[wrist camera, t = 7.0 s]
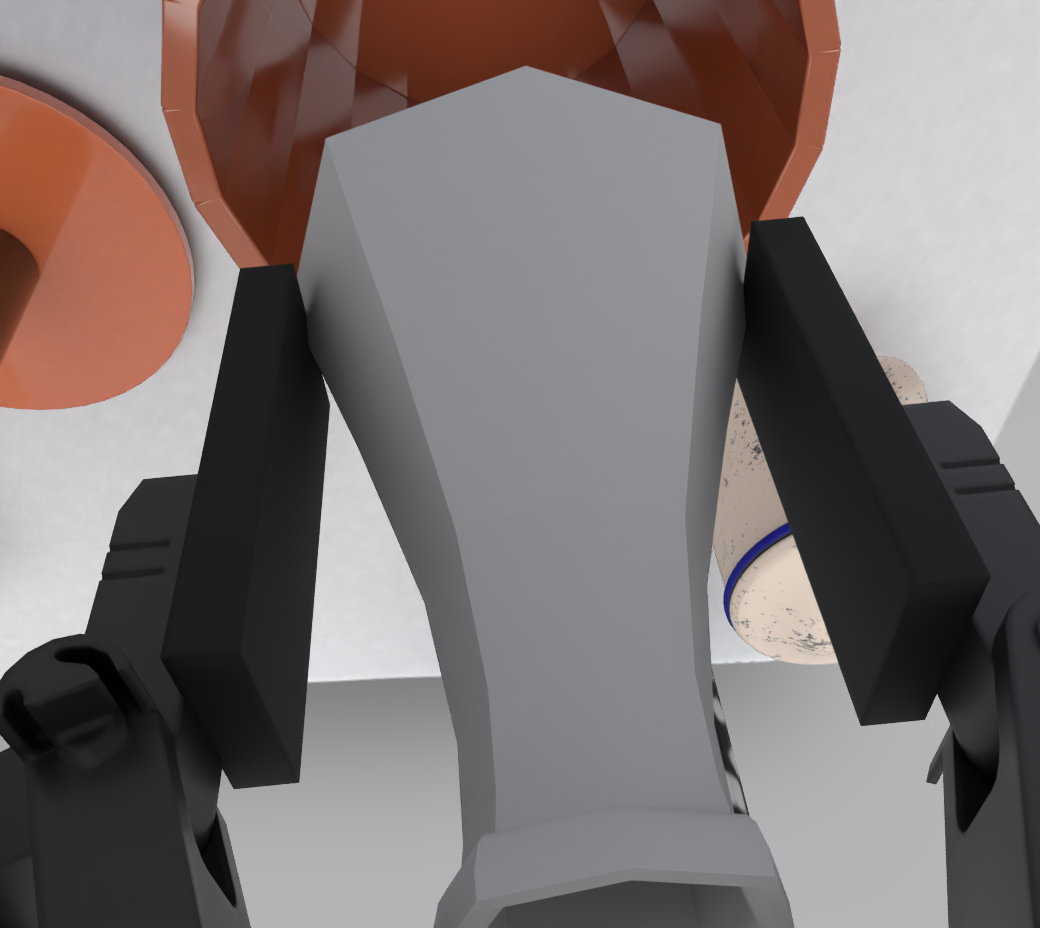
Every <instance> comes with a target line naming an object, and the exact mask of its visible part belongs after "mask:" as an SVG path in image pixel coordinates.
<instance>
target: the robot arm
mask: <svg viewBox="0 0 1040 928" xmlns="http://www.w3.org/2000/svg"><path fill="white" fill-rule="evenodd" d="M743 288H744V302H745V317H746V329H745V334H744V340H743V345H742V351H741V356H740V361H739V367H738V372H737V381H738V384H739V386H740V389H741V392H742V395H743V398H744V400H745V403H746V406H747V409H748V412H749V414H750V417H751V420H752V423H753V426H754V428H755V431H756V434H757V437H758V440H759V442H760V445H761V448H762V451H763V453H764V456H765V459H766V462H767V465H768V467H769V470H770V473H771V476H772V479H773V481H774V484H775V487H776V490H777V493H778V495H779V498H780V501H781V504H782V507H783V509H784V512H785V515H786V518H787V521H788V523H789V526H790V529H791V532H792V535H793V537H794V540H795V543H796V546H797V549H798V551H799V554H800V557H801V560H802V563H803V565H804V568H805V571H806V574H807V577H808V579H809V582H810V585H811V588H812V591H813V593H814V596H815V599H816V602H817V605H818V607H819V610H820V613H821V616H822V619H823V621H824V624H825V627H826V630H827V633H828V635H829V638H830V641H831V644H832V647H833V649H834V652H835V655H836V658H837V661H838V663H839V666H840V669H841V671H842V674H843V677H844V680H845V683H846V686H847V688H848V691H849V694H850V697H851V700H852V702H853V705H854V708H855V711H856V714H857V716H858V719H859V722H860V725H861V726H867V725H876V724H887V723H896V722H907V721H916V720H925V718H926V716H927V714H928V712H929V710H930V708H931V705H932V703H933V701H934V699H935V697H936V695H937V694H938V697H939V699H940V701H941V704H942V706H943V708H944V710H945V713H946V715H947V717H948V720H949V722H950V726H949V728H948V731H947V732H946V734H945V736H944V738H943V740H942V742H941V744H940V746H939V748H938V750H937V752H936V754H935V756H934V758H933V760H932V762H931V764H930V767H929V772H928V777H927V781H926V782H928V783H933V784H936V783H937V782H938V780H939V778H940V776H941V774H942V772H943V783H944V807H945V808H944V809H945V810H944V811H945V838H946V867H947V895H948V922H949V928H1040V525H1039V523H1038V521H1037V520H1036V518H1035V516H1034V515H1033V513H1032V511H1031V510H1030V508H1029V506H1028V505H1027V503H1026V501H1025V499H1024V498H1023V496H1022V495H1021V493H1020V491H1019V490H1015V486H1014V485H1015V483H1014V481H1013V479H1012V478H1011V476H1010V474H1009V472H1008V471H1007V469H1006V467H1005V466H1004V464H1000V457H999V456H998V454H997V452H996V451H995V449H994V447H993V445H992V444H991V442H990V440H989V439H988V437H987V435H986V434H985V432H984V430H983V429H982V427H981V426H980V425H979V424H977V423H976V422H975V421H974V420H972V419H971V418H970V417H969V416H968V415H966V414H965V413H964V412H963V411H961V410H960V409H959V408H958V407H956V406H955V405H954V404H953V403H951V402H950V401H938V402H927V403H917V404H906V405H902V404H901V402H900V400H899V399H898V397H897V395H896V393H895V391H894V389H893V387H892V385H891V383H890V381H889V379H888V377H887V376H886V374H885V372H884V370H883V368H882V366H881V364H880V362H879V360H878V358H877V356H876V355H875V353H874V351H873V349H872V347H871V345H870V343H869V341H868V339H867V337H866V335H865V333H864V332H863V330H862V328H861V326H860V324H859V322H858V320H857V318H856V316H855V314H854V312H853V310H852V309H851V307H850V305H849V303H848V301H847V299H846V297H845V295H844V293H843V291H842V289H841V288H840V286H839V284H838V282H837V280H836V278H835V276H834V274H833V272H832V270H831V268H830V266H829V265H828V263H827V261H826V259H825V257H824V255H823V253H822V251H821V249H820V247H819V245H818V243H817V242H816V240H815V238H814V236H813V234H812V232H811V230H810V228H809V226H808V224H807V222H806V221H805V219H804V217H794V218H783V219H772V220H761V221H751V228H750V235H749V243H748V251H747V259H746V266H745V274H744V282H743ZM329 410H330V403H329V399H328V395H327V391H326V388H325V384H324V380H323V376H322V372H321V370H320V368H319V366H318V364H317V362H316V360H315V358H314V356H313V354H312V352H311V350H310V348H309V343H308V331H307V319H306V310H305V306H304V303H303V299H302V295H301V291H300V287H299V283H298V279H297V275H296V272H295V268H294V264H293V263H291V264H280V265H269V266H258V267H247V268H240V272H239V277H238V282H237V287H236V291H235V296H234V301H233V306H232V311H231V316H230V320H229V325H228V330H227V335H226V340H225V345H224V350H223V354H222V359H221V364H220V369H219V374H218V379H217V384H216V388H215V393H214V398H213V403H212V408H211V413H210V417H209V422H208V427H207V432H206V437H205V442H204V447H203V451H202V456H201V461H200V466H199V471H198V474H194V475H183V476H173V477H162V478H152V479H143V480H142V482H141V483H140V484H139V486H138V487H137V488H136V489H135V491H134V492H133V493H132V495H131V496H130V497H129V499H128V500H127V501H126V502H125V504H124V505H123V506H122V508H121V509H120V510H119V512H118V515H117V519H116V523H115V526H114V530H113V534H112V537H111V541H110V545H109V547H110V552H108V553H107V555H106V559H105V563H104V566H103V570H102V581H99V585H98V588H97V592H96V596H95V599H94V603H93V606H92V610H91V614H90V617H89V621H88V625H87V628H86V632H85V634H77V635H72V636H67V637H62V638H57V639H53V640H51V641H49V642H47V643H45V644H43V645H41V646H39V647H37V648H35V649H33V650H31V651H30V652H28V653H26V654H25V655H24V656H23V657H22V658H21V659H20V660H18V661H17V662H16V663H15V664H14V665H13V666H12V667H11V668H10V669H8V670H7V671H6V672H5V674H4V675H3V677H2V678H1V680H0V735H1V736H2V737H3V738H4V740H5V741H6V742H7V743H8V744H9V745H10V748H8V749H6V750H4V751H2V752H0V928H251V927H250V923H249V918H248V914H247V910H246V906H245V901H244V897H243V893H242V889H241V884H240V880H239V876H238V872H237V868H236V864H235V859H234V855H233V851H232V847H231V843H230V838H229V834H228V830H227V825H226V823H225V821H224V819H223V817H222V815H221V813H220V811H219V809H218V807H217V800H218V793H219V786H220V778H221V772H222V769H223V771H224V772H225V774H226V776H227V777H228V779H229V781H230V783H231V785H232V787H233V788H234V789H240V788H250V787H260V786H270V785H279V784H290V783H299V779H300V766H301V754H302V742H303V741H302V740H303V729H304V717H305V704H306V693H307V680H308V668H309V656H310V644H311V631H312V619H313V607H314V594H315V582H316V570H317V558H318V545H319V533H320V521H321V508H322V496H323V484H324V471H325V459H326V447H327V435H328V422H329Z"/></svg>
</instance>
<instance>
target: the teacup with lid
mask: <svg viewBox="0 0 1040 928" xmlns="http://www.w3.org/2000/svg"><path fill="white" fill-rule="evenodd" d="M877 358H878V360H879V362H880V364H881V366H882V368H883V370H884V372H885V374H886V376H887V377H888V379H889V381H890V383H891V385H892V387H893V389H894V391H895V393H896V395H897V397H898V399H899V400H900V402H901V404H902V405H906V404H917V403H927V402H928V399H927V394H926V391H925V388H924V386H923V384H922V381H921V380H920V378H919V376H918V375H917V374H916V372H915V371H914V370H913V369H912V368H911V367H910V366H909V365H907V364H906V363H904V362H903V361H901V360H898V359H896V358H892V357H886V356H877ZM712 544H713V548H714V551H715V555H716V558H717V562H718V565H719V569H720V573H721V576H722V580H723V583H724V587H725V591H724V602H723V603H724V610H725V613H726V616H727V619H728V621H729V623H730V625H731V626H732V627H733V629H734V630H735V631H736V632H737V634H738V635H739V636H740V638H741V639H742V640H743V641H745V642H746V643H747V644H748V645H749V646H751V647H752V648H753V649H755V650H756V651H758V652H760V653H762V654H764V655H766V656H769V657H771V658H774V659H777V660H781V661H785V662H790V663H797V664H814V665H815V664H816V665H817V664H834V663H838V661H837V658H836V655H835V652H834V649H833V647H832V644H831V641H830V638H829V635H828V633H827V630H826V627H825V624H824V621H823V619H822V616H821V613H820V610H819V607H818V605H817V602H816V599H815V596H814V593H813V591H812V588H811V585H810V582H809V579H808V577H807V574H806V571H805V568H804V565H803V563H802V560H801V557H800V554H799V551H798V549H797V546H796V543H795V540H794V537H793V535H792V532H791V529H790V526H789V523H788V521H787V518H786V515H785V512H784V509H783V507H782V504H781V501H780V498H779V495H778V493H777V490H776V487H775V484H774V481H773V479H772V476H771V473H770V470H769V467H768V465H767V462H766V459H765V456H764V453H763V451H762V448H761V445H760V442H759V440H758V437H757V434H756V431H755V428H754V426H753V423H752V420H751V417H750V414H749V412H748V409H747V406H746V403H745V400H744V398H743V395H742V392H741V389H740V386H739V384H738V381H737V378H736V383H735V389H734V394H733V399H732V405H731V410H730V416H729V421H728V427H727V433H726V441H725V449H724V457H723V464H722V472H721V480H720V488H719V495H718V503H717V511H716V519H715V526H714V534H713V542H712Z"/></svg>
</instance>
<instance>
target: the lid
mask: <svg viewBox="0 0 1040 928" xmlns="http://www.w3.org/2000/svg"><path fill="white" fill-rule="evenodd" d="M194 282H195V278H194V268H193V259H192V255H191V251H190V247H189V243H188V240H187V236H186V234H185V231H184V229H183V227H182V224H181V222H180V220H179V217H178V215H177V213H176V211H175V210H174V208H173V206H172V204H171V203H170V201H169V199H168V197H167V196H166V194H165V192H164V191H163V190H162V188H161V187H160V186H159V184H158V183H157V182H156V180H155V179H154V178H153V176H152V175H151V174H150V172H149V171H148V170H147V169H146V168H145V167H144V166H143V164H142V163H141V162H140V161H139V160H138V159H137V158H136V157H135V156H134V155H133V154H132V153H131V152H130V151H129V150H128V149H127V148H126V147H125V146H124V145H123V144H122V143H120V142H119V141H118V140H117V139H116V138H115V137H113V136H112V135H111V134H110V133H109V132H108V131H106V130H105V129H104V128H103V127H101V126H100V125H98V124H97V123H95V122H94V121H93V120H91V119H90V118H88V117H87V116H85V115H84V114H83V113H81V112H80V111H78V110H76V109H75V108H73V107H71V106H69V105H67V104H66V103H64V102H62V101H60V100H59V99H57V98H55V97H53V96H51V95H49V94H47V93H45V92H43V91H40V90H38V89H36V88H33V87H31V86H29V85H27V84H24V83H22V82H20V81H17V80H13V79H10V78H7V77H4V76H1V75H0V407H7V408H14V409H33V410H47V409H65V408H72V407H78V406H85V405H89V404H93V403H97V402H100V401H104V400H107V399H110V398H112V397H115V396H117V395H120V394H122V393H125V392H126V391H128V390H130V389H132V388H134V387H135V386H137V385H139V384H141V383H142V382H144V381H145V380H146V379H147V378H149V377H150V376H151V375H153V374H154V373H155V372H157V371H158V370H159V368H160V367H161V366H162V365H163V364H164V363H165V362H166V361H167V360H168V359H169V358H170V356H171V355H172V353H173V352H174V350H175V349H176V347H177V346H178V344H179V343H180V341H181V338H182V336H183V334H184V331H185V329H186V327H187V324H188V320H189V316H190V312H191V307H192V303H193V299H194Z"/></svg>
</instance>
